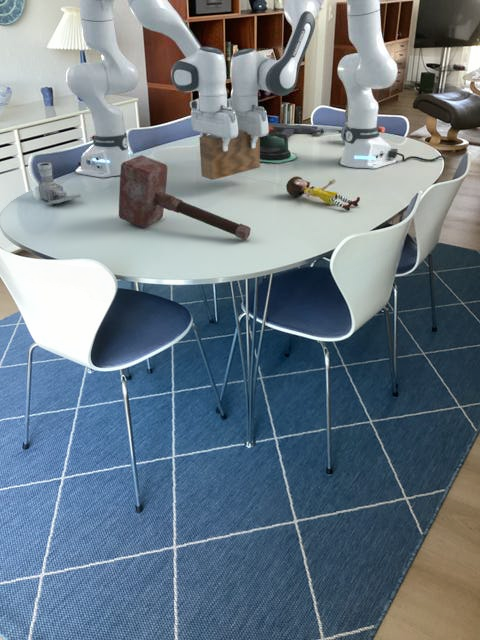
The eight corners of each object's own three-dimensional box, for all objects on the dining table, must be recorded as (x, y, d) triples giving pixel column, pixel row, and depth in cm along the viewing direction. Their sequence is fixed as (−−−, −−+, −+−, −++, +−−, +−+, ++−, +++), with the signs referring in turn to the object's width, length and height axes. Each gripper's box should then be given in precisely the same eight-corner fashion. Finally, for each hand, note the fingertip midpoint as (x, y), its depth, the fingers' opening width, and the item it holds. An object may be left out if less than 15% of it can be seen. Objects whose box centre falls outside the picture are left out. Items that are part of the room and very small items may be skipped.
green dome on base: (302, 149, 235) (294, 163, 219) (265, 168, 244) (254, 183, 227) (286, 117, 230) (276, 128, 213) (248, 137, 238) (236, 150, 222)
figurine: (345, 200, 166) (278, 176, 178) (341, 223, 170) (275, 198, 182) (367, 189, 174) (301, 166, 186) (362, 211, 179) (298, 188, 191)
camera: (50, 159, 186) (76, 167, 177) (57, 193, 192) (81, 203, 184) (27, 164, 181) (51, 173, 172) (34, 199, 187) (58, 209, 178)
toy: (345, 120, 249) (377, 123, 242) (343, 139, 253) (375, 143, 246) (337, 123, 243) (369, 127, 236) (336, 143, 247) (367, 147, 240)
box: (212, 179, 183) (210, 139, 177) (201, 176, 187) (199, 136, 181) (260, 167, 195) (259, 129, 189) (248, 164, 199) (248, 126, 193)
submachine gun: (243, 132, 260) (267, 122, 278) (243, 138, 261) (267, 127, 280) (305, 138, 246) (326, 127, 265) (305, 144, 248) (326, 133, 266)
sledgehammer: (261, 199, 150) (139, 153, 161) (245, 210, 142) (119, 161, 154) (249, 254, 160) (136, 207, 171) (234, 267, 153) (116, 217, 164)
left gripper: (242, 106, 171) (243, 152, 178) (202, 99, 184) (204, 142, 191) (226, 109, 167) (228, 155, 174) (186, 102, 181) (189, 145, 188)
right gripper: (273, 105, 179) (272, 149, 186) (232, 99, 192) (233, 139, 199) (258, 108, 175) (258, 152, 182) (218, 101, 189) (219, 142, 196)
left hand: (215, 148), depth 183 cm, fingers open, 8 cm apart
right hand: (245, 146), depth 191 cm, fingers closed on box, 6 cm apart
